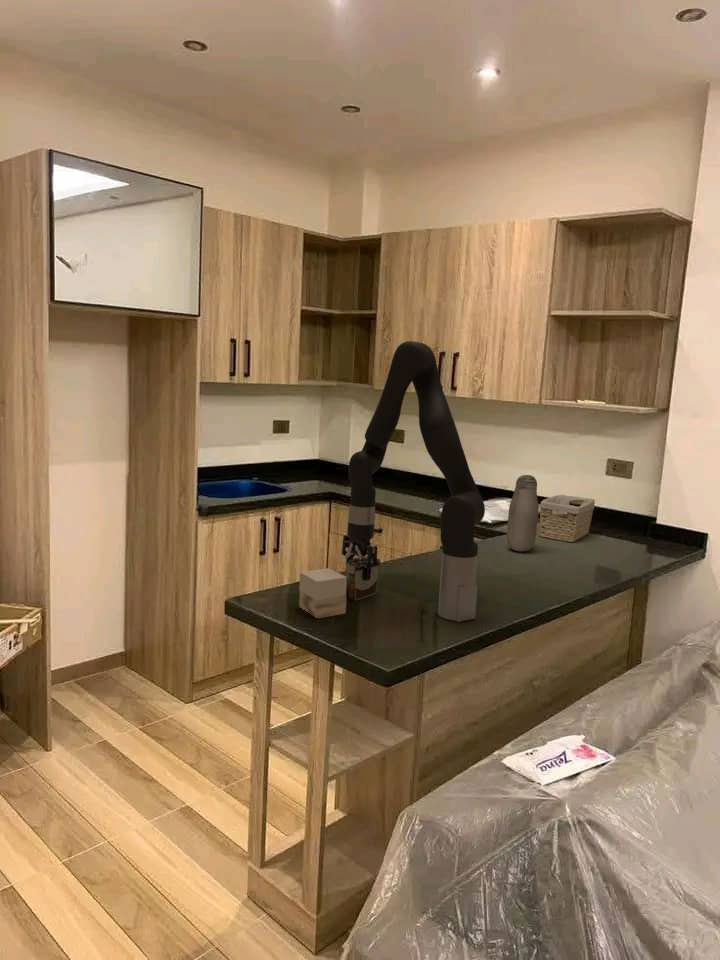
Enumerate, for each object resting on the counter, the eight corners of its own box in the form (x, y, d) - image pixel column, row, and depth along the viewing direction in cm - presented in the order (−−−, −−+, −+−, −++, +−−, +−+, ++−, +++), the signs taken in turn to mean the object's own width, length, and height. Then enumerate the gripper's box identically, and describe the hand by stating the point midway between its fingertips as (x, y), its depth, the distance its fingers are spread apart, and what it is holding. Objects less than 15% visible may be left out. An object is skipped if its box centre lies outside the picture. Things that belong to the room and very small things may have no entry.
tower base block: (345, 613, 194) (346, 595, 193) (316, 619, 189) (317, 600, 188) (327, 603, 201) (328, 586, 200) (299, 608, 196) (299, 590, 195)
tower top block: (345, 595, 193) (346, 577, 192) (316, 600, 188) (317, 581, 187) (328, 585, 201) (328, 568, 200) (299, 590, 196) (300, 572, 195)
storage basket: (554, 527, 310) (557, 493, 308) (593, 534, 302) (596, 498, 299) (535, 537, 290) (538, 501, 288) (576, 544, 282) (580, 507, 279)
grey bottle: (523, 555, 261) (530, 478, 256) (500, 549, 268) (506, 474, 264) (539, 552, 267) (547, 476, 263) (516, 545, 275) (523, 472, 270)
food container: (362, 587, 216) (364, 554, 215) (379, 592, 212) (381, 559, 211) (335, 596, 207) (336, 562, 205) (351, 602, 203) (353, 567, 201)
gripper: (387, 525, 203) (382, 581, 205) (358, 514, 214) (354, 567, 217) (364, 527, 198) (360, 585, 201) (336, 515, 210) (333, 570, 213)
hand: (357, 575), depth 209 cm, fingers open, 8 cm apart
